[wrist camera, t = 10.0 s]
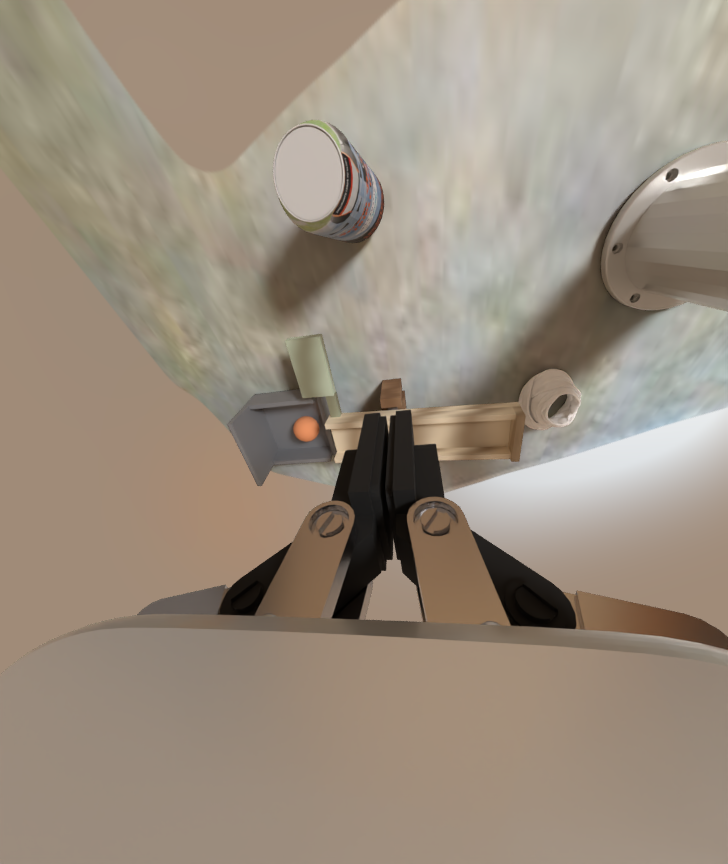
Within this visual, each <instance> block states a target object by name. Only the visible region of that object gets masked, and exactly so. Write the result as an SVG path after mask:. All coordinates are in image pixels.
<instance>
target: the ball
mask: <svg viewBox="0 0 728 864" xmlns="http://www.w3.org/2000/svg"><path fill="white" fill-rule="evenodd" d="M293 431H294V434H295V436H296V437H297V438H298V439H299V440H301V441H305V442H308V441H312V440H313V439H315V438H316V437H317V435H318V433H319V424H318V422H317V421H316V420H315V419H314V418H312V417H309V416H303V417H300V418H299V419H298V420H297V421H296V422H295V424H294V427H293Z"/></svg>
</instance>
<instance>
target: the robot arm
mask: <svg viewBox="0 0 728 864" xmlns="http://www.w3.org/2000/svg"><path fill="white" fill-rule="evenodd" d="M666 175H667V177H666ZM614 246H615V248H614V249H613V247H614ZM612 249H613V250H612ZM601 273H602V279H603V282H604V285H605V287H606V289H607V291H608V292H609V293H610V295H611V296H612V297H613V298H614V299H616V300H617V301H618V302H620V303H622V304H624V305H627V306H629V307H632V308H636V309H640V310H660V309H667V308H671V307H674V306H678V305H681V304H684V303H686V302H690V303H694V304H698V305H702V306H706V307H711V308H715V309H719V310H723V311H727V312H728V141H721V142H717V143H713V144H709V145H706V146H702V147H700V148H697V149H695V150H692V151H690V152H687V153H685V154H683V155H681V156H679V157H678V158H676V159H674V160H673V161H671V162H669V163H668V164H666V165H665V166H663V167H662V168H661V169H659V170H658V171H657V172H656V173H654V174H653V175H652V176H650V177H649V178H648V179H647V180H646V181H645V182H644V183H643V184H642V185H641V186H640V187H639V188H638V189H637V190H636V191H635V192H634V193H633V195H632V196H631V197H630V198H629V200H628V201H627V202H626V203H625V205H624V206H623V207H622V209H621V210H620V212H619V214H618V215H617V217H616V218H615V220H614V222H613V223H612V226H611V228H610V230H609V232H608V235H607V237H606V240H605V243H604V247H603V251H602V257H601ZM631 296H632V297H631ZM393 539H394V543H395V550H396V555H397V559H398V560H401V566H402V572H403V574H405V575H406V576H407V577H408V578H409V579H410V580H411V581H412V582H413V583H414V584H415V585H416V590H417V595H418V600H419V606H420V611H421V616H422V622H408V621H382V620H365V618H366V614H367V610H368V605H369V601H370V597H371V593H372V587H373V581H372V580H373V579H375V578H376V577H377V576H378V575H379V574H380V573H381V571H386V562H387V560H392V559H393ZM0 864H728V637H727V636H726V635H725V634H724V633H723V632H721V631H720V630H719V629H717V628H715V627H714V626H712V625H710V624H708V623H707V622H705V621H703V620H702V619H699V618H696V617H693V616H690V615H687V614H684V613H679V612H675V611H670V610H665V609H661V608H656V607H651V606H647V605H642V604H637V603H633V602H628V601H624V600H618V599H614V598H610V597H605V596H600V595H595V594H591V593H587V592H582V591H576V594H570V593H566V592H562V591H561V590H560V589H559V588H557V587H556V586H555V585H554V584H553V583H551V582H550V581H548V580H547V579H545V578H544V577H542V576H541V575H539V574H538V573H536V572H534V571H533V570H531V569H530V568H528V567H527V566H525V565H524V564H522V563H521V562H519V561H518V560H516V559H515V558H513V557H512V556H510V555H509V554H507V553H505V552H504V551H502V550H501V549H499V548H498V547H496V546H495V545H493V544H492V543H490V542H489V541H487V540H485V539H484V538H483V537H481V536H479V535H478V534H476V533H475V532H473V531H472V530H470V527H469V525H468V523H467V520H466V518H465V515H464V513H463V512H462V510H461V508H460V507H459V506H457V504H455V503H454V502H452V501H450V500H448V499H446V498H444V491H443V485H442V479H441V472H440V466H439V460H438V453H437V447H436V444H424V445H414V434H413V424H412V414H411V410H402V411H396V415H391V416H390V426H389V431H388V425H387V418H386V416H381V415H380V413H370V414H365V415H364V419H363V424H362V428H361V433H360V438H359V442H358V447H357V449H354V450H346V451H345V453H344V456H343V460H342V464H341V468H340V471H339V475H338V479H337V482H336V486H335V490H334V494H333V497H332V501H328V502H325V503H322V504H320V505H318V506H316V507H315V508H313V509H312V510H311V511H310V512H309V513H308V515H307V516H306V518H305V519H304V521H303V523H302V525H301V527H300V529H299V531H298V533H297V535H296V536H295V539H294V541H293V542H292V543H290V544H289V545H287V546H286V547H285V548H283V549H282V550H280V551H279V552H278V553H276V554H275V555H273V556H272V557H270V558H269V559H267V560H266V561H265V562H263V563H262V564H260V565H259V566H258V567H256V568H255V569H254V570H252V571H250V572H249V573H248V574H246V575H245V576H243V577H242V578H241V579H239V580H238V581H237V582H236V583H235V584H233V585H232V587H230V588H228V587H227V586H226V585H221V586H217V587H213V588H208V589H204V590H200V591H195V592H190V593H186V594H182V595H177V596H173V597H168V598H164V599H160V600H158V601H155V602H153V603H151V604H150V605H148V606H147V607H145V608H144V609H142V610H141V611H140V612H139V614H137V615H134V616H128V617H120V618H115V619H111V620H106V621H102V622H99V623H95V624H91V625H88V626H85V627H83V628H80V629H77V630H75V631H72V632H69V633H67V634H64V635H61V636H59V637H57V638H54V639H52V640H50V641H48V642H46V643H44V644H42V645H40V646H39V647H37V648H35V649H33V650H32V651H30V652H29V653H27V654H26V655H24V656H23V657H21V658H20V659H18V660H17V661H16V662H14V663H13V664H12V665H11V666H10V667H9V668H7V669H6V670H5V671H4V672H3V673H1V674H0Z"/></svg>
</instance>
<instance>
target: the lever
mask: <svg viewBox="0 0 728 864" xmlns="http://www.w3.org/2000/svg"><path fill="white" fill-rule="evenodd" d="M285 343H286V347H287V350H288V353H289V356H290V359H291V363H292V366H293V369H294V372H295V375H296V378H297V382H298V385H299V388H300V391H301V394H302V398H312V397H324V396H325V397H326V400H327V404H328V408H329V412H330V415H329V417H328V419H327V421H326V423H325V428H326V429H331V431H332V435H333V439H334V442H335V446H336V450H337V453H336V456H335V458H334V460H335V463H342V460H343V456H344V453H345V451H346V450H354V449H357V447H358V442H359V438H360V433H361V428H362V424H363V419H364V415H365V414H370V413H380V415H381V416H386V418H387V425H388V431H389V426H390V416H391V415H396V411H402V410H411V414H412V424H413V434H414V445H424V444H436V447H437V453H438V460H482V459H511V462H517V461H519V459H520V452H521V445H522V438H523V431H524V425H525V418H526V415H525V414H524V412H523V410H522V408H521V406H520V404H519V402H509V403H493V404H478V405H462V406H447V407H431V408H416V409H400V410H398V407H391V408H388V410H385V411H369V412H354V413H341V409H340V405H339V400H338V396H337V392H336V390H335V386H334V382H333V378H332V374H331V370H330V366H329V361H328V357H327V353H326V349H325V345H324V341H323V337H322V334H317V335H309V336H302V337H294V338H288V339H287V340H285Z"/></svg>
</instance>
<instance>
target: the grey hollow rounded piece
mask: <svg viewBox="0 0 728 864" xmlns="http://www.w3.org/2000/svg"><path fill="white" fill-rule="evenodd" d="M564 394H567V399H566V402H565V403H564V405H563V406H562V407H561V408H560V409H559V410H558V411H557V412H556V413H555V414H554V415H553V416H552V417H550V418H548V410H549V408H550V406H551V405H552V404H553V402H554V401H555V400H556V399H557V398H558V397H559V396H560V395H564ZM580 398H581V391H580V390H579V389H577V388H576V387H575V385H574V383H573V381H572V379H571V378H570V376H569V375H568V374H567V373H566V372H564V371H562V370H558V369H548V370H545V371H543V372H541V373H539V374H537V375H535V376H533V377H532V378H531V379H530V380H529V381H528V382H527V383H526V384H525V386H524V387H523V389H522V390H521V393H520V396H519V401H518V402H519V404H520V406H521V408H522V410H523V412H524V414H525V415H526V418H525V425H527V426H528V427H529V428H532V429H535V430H537V429H538V430H546V429H548V428H550V427H552V426H554V427H563V426H567V425H569V424H570V423H571V422H572V421H573V420H574V417H575V415H576V413H577V410H578V408H579V406H580V404H581V400H580Z"/></svg>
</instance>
